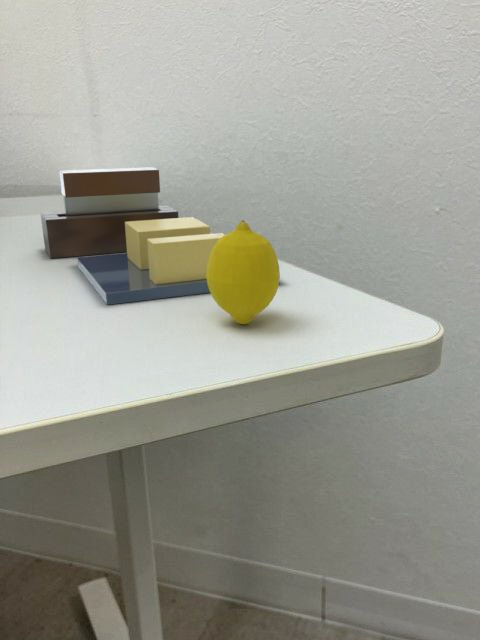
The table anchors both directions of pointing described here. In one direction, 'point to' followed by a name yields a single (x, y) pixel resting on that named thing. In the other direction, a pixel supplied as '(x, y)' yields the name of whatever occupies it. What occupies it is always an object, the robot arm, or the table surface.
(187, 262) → the butter slice
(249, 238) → the fruit
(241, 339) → the table surface
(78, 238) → the scraper holder
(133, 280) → the butter dish
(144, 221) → the butter block
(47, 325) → the table surface
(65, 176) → the scraper
